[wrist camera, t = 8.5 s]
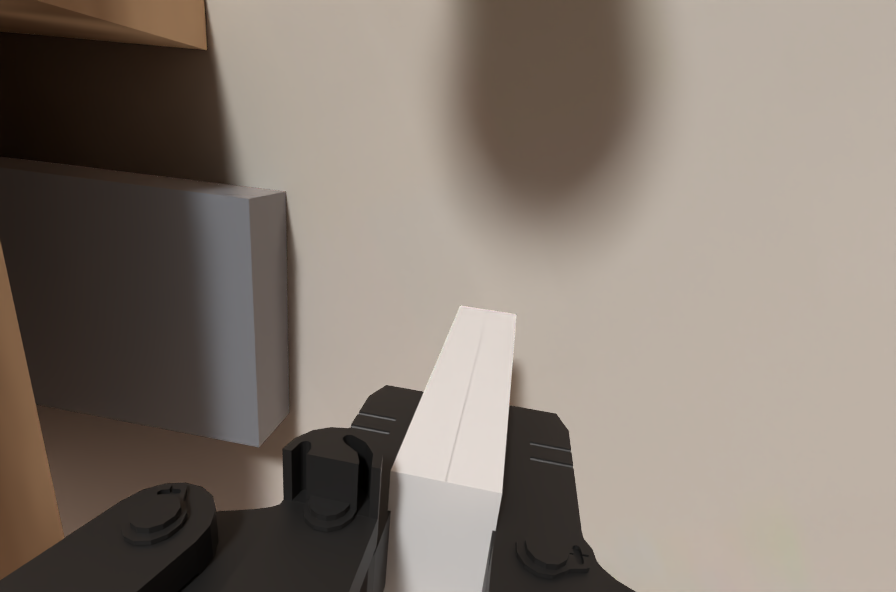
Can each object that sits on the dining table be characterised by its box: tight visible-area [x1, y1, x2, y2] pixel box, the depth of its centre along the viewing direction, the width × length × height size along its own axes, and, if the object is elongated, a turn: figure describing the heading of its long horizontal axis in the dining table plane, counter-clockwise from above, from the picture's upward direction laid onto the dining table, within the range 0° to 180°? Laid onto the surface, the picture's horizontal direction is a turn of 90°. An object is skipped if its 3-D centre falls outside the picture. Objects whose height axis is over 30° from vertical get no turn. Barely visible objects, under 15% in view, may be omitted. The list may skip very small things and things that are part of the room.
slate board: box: [0, 157, 289, 447], centre depth 16 cm, size 10×8×2 cm
